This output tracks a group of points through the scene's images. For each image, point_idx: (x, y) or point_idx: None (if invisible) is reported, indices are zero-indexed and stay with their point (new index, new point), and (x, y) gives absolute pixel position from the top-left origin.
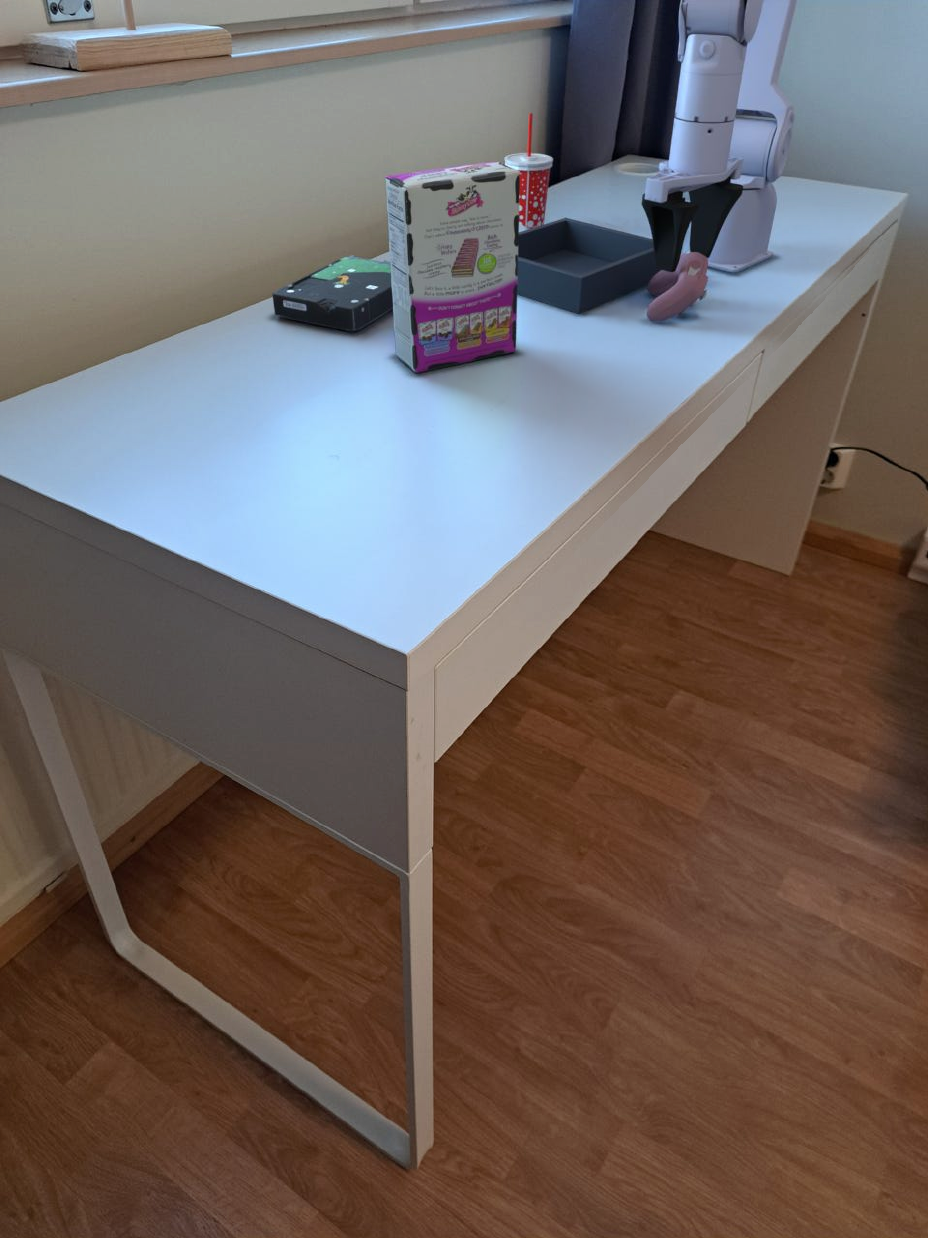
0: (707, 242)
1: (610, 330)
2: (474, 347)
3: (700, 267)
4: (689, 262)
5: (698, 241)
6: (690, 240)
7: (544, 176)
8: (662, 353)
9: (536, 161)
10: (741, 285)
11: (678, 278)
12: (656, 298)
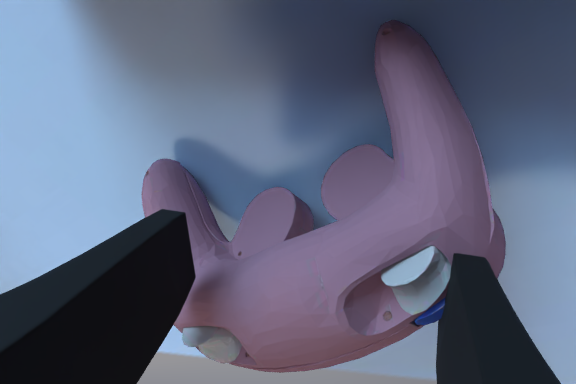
0: (443, 375)
1: (48, 103)
2: None
3: (234, 362)
4: (230, 331)
5: (449, 334)
6: (459, 291)
7: None
8: (70, 258)
9: None
10: None
11: (195, 281)
12: (145, 208)
